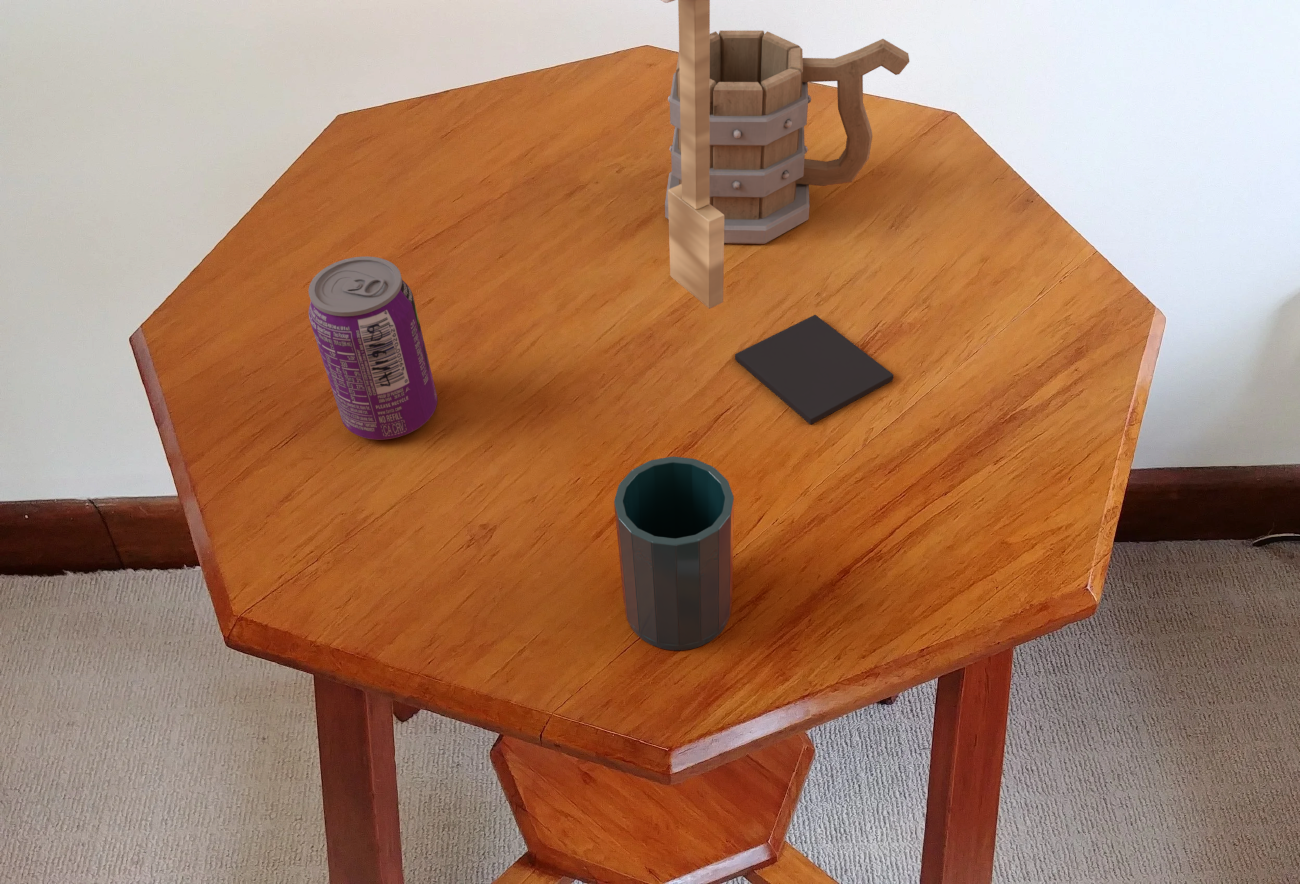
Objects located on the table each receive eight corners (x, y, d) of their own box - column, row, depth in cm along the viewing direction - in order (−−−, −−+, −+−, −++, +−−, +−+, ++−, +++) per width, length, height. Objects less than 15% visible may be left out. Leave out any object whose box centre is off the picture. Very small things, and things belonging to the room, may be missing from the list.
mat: (893, 380, 84) (894, 374, 83) (810, 425, 81) (811, 419, 80) (814, 320, 89) (815, 314, 89) (734, 359, 86) (734, 353, 86)
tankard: (662, 244, 97) (655, 82, 87) (672, 166, 106) (667, 11, 95) (896, 247, 95) (918, 83, 85) (886, 168, 104) (905, 10, 94)
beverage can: (453, 388, 85) (424, 258, 77) (417, 453, 80) (382, 323, 72) (367, 375, 87) (329, 246, 78) (326, 439, 82) (282, 309, 73)
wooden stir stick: (723, 302, 56) (729, -121, 42) (709, 309, 56) (709, -115, 42) (683, 270, 58) (676, -145, 44) (669, 276, 58) (657, -140, 44)
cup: (752, 616, 69) (757, 508, 62) (664, 669, 67) (658, 563, 60) (690, 549, 73) (687, 440, 66) (605, 597, 71) (592, 489, 63)
